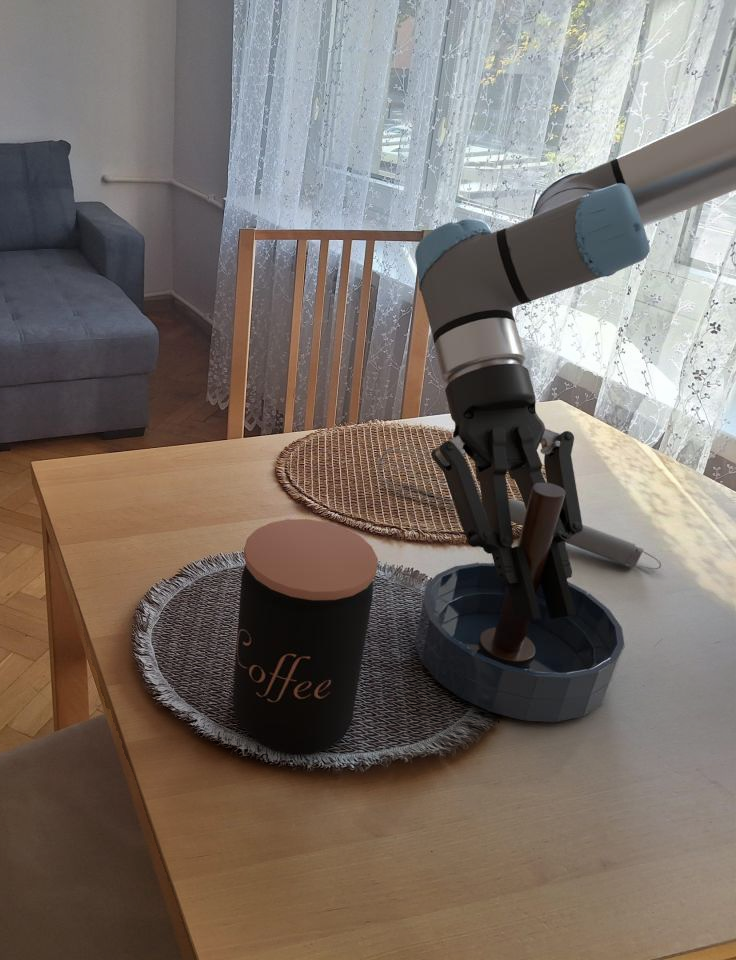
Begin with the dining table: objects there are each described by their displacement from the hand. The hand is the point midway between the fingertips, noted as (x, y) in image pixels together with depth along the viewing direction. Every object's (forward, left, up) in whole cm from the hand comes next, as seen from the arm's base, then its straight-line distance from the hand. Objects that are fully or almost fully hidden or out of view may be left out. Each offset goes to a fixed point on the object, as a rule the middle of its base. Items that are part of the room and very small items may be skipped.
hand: (545, 618), depth 77 cm
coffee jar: (+20, +12, -9) cm, 24 cm away
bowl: (+2, -3, -8) cm, 9 cm away
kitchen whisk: (+3, -31, -9) cm, 32 cm away
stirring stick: (+2, -3, -7) cm, 8 cm away
